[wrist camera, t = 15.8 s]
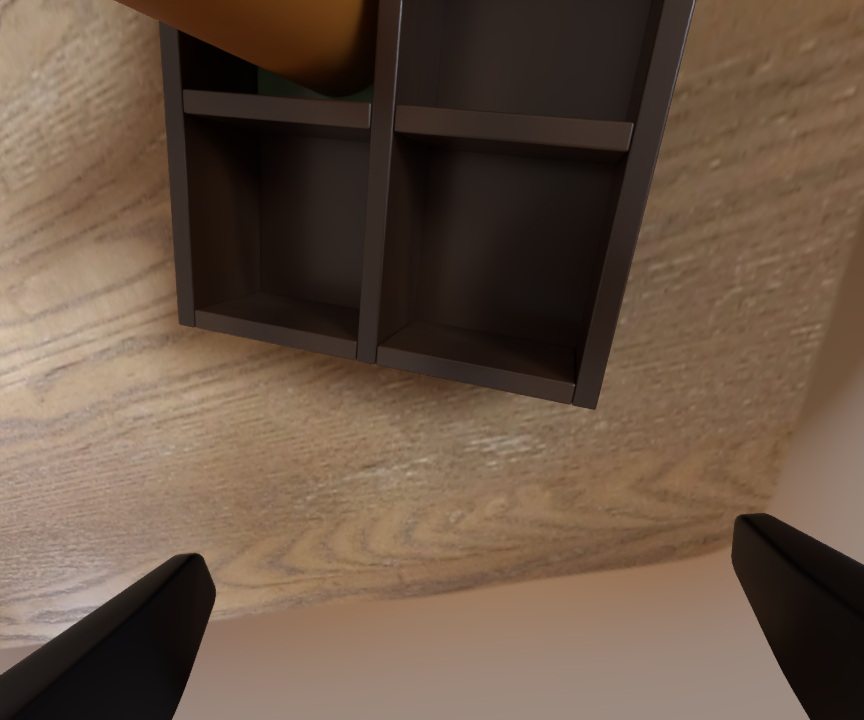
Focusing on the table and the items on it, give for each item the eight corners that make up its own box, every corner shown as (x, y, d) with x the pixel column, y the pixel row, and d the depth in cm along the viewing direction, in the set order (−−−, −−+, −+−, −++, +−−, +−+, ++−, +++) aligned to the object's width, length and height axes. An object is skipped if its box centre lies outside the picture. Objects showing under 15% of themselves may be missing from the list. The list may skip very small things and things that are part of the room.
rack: (703, -122, 14) (763, -272, 9) (590, 364, 18) (595, 410, 14) (250, -107, 17) (142, -213, 13) (255, 302, 22) (178, 324, 17)
